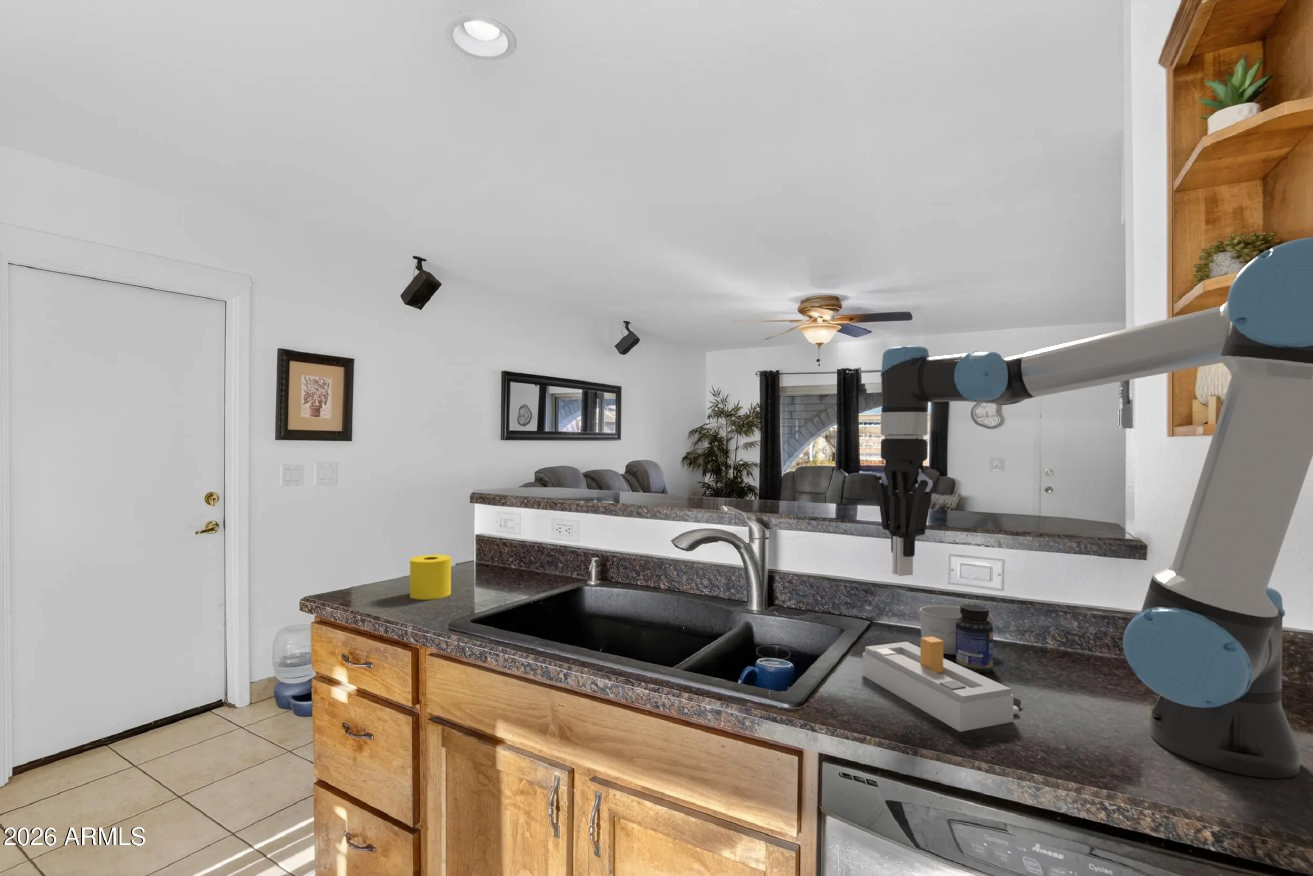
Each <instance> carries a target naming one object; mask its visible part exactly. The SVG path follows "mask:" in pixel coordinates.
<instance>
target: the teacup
mask: <svg viewBox="0 0 1313 876" xmlns="http://www.w3.org/2000/svg"><path fill="white" fill-rule="evenodd" d="M919 613H920V615H919V616H920V617H919V618H920V619H919V620H920V621H919V623H920V633H921V634H920V635H921V638H923V637H932V636H933V637H935V638H937V639H940V640H942V641H943V655H944V654H946V655H953V656H954V655H955V656H956V621H957V619H959V618H961V617H962V614H961V613H960V607H959V606H951V605H940V604H939V605H927V606H922V607H920V608H919ZM987 620H988V621H989V622H990V623H991V624H992V625H993V629H995V625H996V623H995V618H994V617H993V616H992V614H990V613H989V616H988V617H987Z"/></svg>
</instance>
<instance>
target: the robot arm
mask: <svg viewBox="0 0 1313 876" xmlns="http://www.w3.org/2000/svg"><path fill="white" fill-rule="evenodd" d="M1217 364H1223V365H1224V366H1225V368H1226V369H1227V370H1228V371H1229V373H1230V376H1231V377H1230V380H1229V383H1228V386H1227V390H1226V392H1225V396H1224V399H1223V402H1222V406H1221V408H1220V412H1219V415H1218V419H1217V422H1216V425H1215V427H1214V431H1213V435H1212V437H1211V441H1210V443H1209V447H1208V449H1207V453H1206V457H1205V459H1204V463H1203V466H1202V469H1201V472H1200V476H1199V479H1198V481H1197V484H1196V489H1195V491H1194V494H1193V497H1192V501H1191V504H1190V508H1189V511H1188V513H1187V518H1186V520H1185V523H1184V527H1183V530H1182V533H1181V535H1180V540H1179V542H1178V546H1177V548H1176V549H1177V550H1176V553H1175V555H1174V558H1173V562H1172V564H1171V565H1170V566H1168V567H1165V568H1163V569H1160V570H1157V571H1155V572H1153V574H1152V577H1151V579H1150V581H1149V582H1150V583H1149V586H1148V589H1147V593H1146V594H1145V599H1144V602H1143V604H1142V608H1141V610H1140V611H1139V612H1138V613H1136V614H1135V615H1134V617H1133V618H1131V619H1130V622H1129V623H1128V624H1127V625H1126V628H1125V631H1124V632H1123V633H1124V634H1123V638H1122V645H1123V652H1124V656H1125V659H1126V661H1127V663H1128V665H1129V667H1130V668H1131V669H1132V671H1133V672H1134V673H1135V675H1136V677H1137V678H1138V679H1139V680H1140V681H1141V682H1142V683H1143V684H1144V685H1145V686H1146V687H1148V688H1149V689H1150V690H1152V691H1153V692H1154V693H1155V694H1157V695H1159V696H1158V699H1157V700H1156V703H1155V704H1154V707H1153V709H1152V711H1151V713H1150V715H1149V717H1150V718H1149V734H1150V736H1151V738H1152V739H1154V741H1156V743H1158V744H1159V745H1160V746H1162V747H1164V749H1165V748H1166V749H1167V750H1169V751H1171V752H1172V753H1174V754H1176V755H1178V756H1181V757H1183V758H1185V759H1188V760H1191V761H1192V762H1195V763H1198V764H1201V765H1202V766H1203V765H1204V766H1206V767H1210V768H1212V769H1213V768H1214V769H1216V770H1221V771H1224V772H1227V773H1228V772H1229V773H1233V774H1238V775H1243V776H1249V777H1255V778H1262V779H1286V778H1287V779H1288V778H1291V777H1294V776H1296V775H1298V774H1299V773H1300V771H1301V752H1300V749H1299V746H1298V744H1297V742H1296V738H1295V736H1294V734H1293V732H1292V729H1291V726H1290V723H1289V721H1288V719H1287V716H1286V713H1285V711H1284V708H1283V705H1282V688H1283V680H1282V679H1283V618H1284V617H1285V615H1286V611H1285V610H1284V608H1283V597H1282V595H1281V593H1280V592H1279V591H1277V590H1276V589H1274V588H1272V587H1269V585H1270V584H1269V583H1270V580H1271V578H1272V575H1273V571H1274V568H1275V566H1276V564H1277V559H1278V558H1279V555H1280V551H1281V548H1282V546H1283V544H1284V540H1285V537H1286V534H1287V531H1288V529H1289V525H1290V522H1291V519H1292V518H1293V514H1294V511H1295V509H1296V505H1297V504H1298V503H1297V502H1298V501H1299V496H1300V494H1301V491H1302V488H1303V485H1304V482H1305V480H1306V477H1307V473H1308V470H1309V468H1310V465H1311V462H1312V459H1313V236H1311V237H1306V238H1305V237H1304V238H1299V239H1293V240H1290V241H1288V242H1282V243H1281V244H1279V245H1278V244H1277V245H1276V246H1273V247H1271V248H1270V249H1267V250H1266V251H1265V250H1264V252H1262V253H1260V254H1259V255H1257V256H1255V257H1254V258H1253V259H1252V260H1251V261H1249V262H1248V263H1247V264H1246V265H1245V266H1243V268H1241V269H1240V271H1239V272H1238V274H1237V275H1236V277H1234V280H1233V281H1232V283H1231V285H1230V287H1229V290H1228V295H1227V301H1226V302H1225V303H1223V304H1222V305H1219V306H1216V307H1211V308H1207V309H1203V310H1199V311H1193V312H1191V313H1186V314H1182V315H1178V316H1175V317H1170V318H1165V319H1162V320H1157V321H1153V322H1150V323H1146V324H1141V325H1137V326H1132V327H1127V328H1125V329H1120V330H1116V331H1113V332H1108V333H1104V334H1099V335H1096V336H1091V337H1087V338H1083V339H1078V340H1074V341H1071V342H1067V343H1062V344H1058V345H1054V346H1049V347H1045V348H1041V349H1037V350H1033V351H1028V352H1026V353H1023V354H1022V353H1021V354H1015V355H1013V356H1008V357H1005V358H1003V357H1002V355H1001V354H1000V353H998V352H996V351H971V352H968V353H959V354H952V355H951V354H950V355H941V356H930V354H929V350H928V348H927V347H925V346H919V345H907V346H895V347H890V348H888V349H886V350H885V351H884V352H883V353H882V362H881V372H880V379H881V381H880V382H881V413H880V435H881V436H884V437H883V438H881V440H880V458H881V459H882V460H883V461H884V463H885V464H884V467H883V472H882V473H881V474H880V475H877V474H876V475H874V476H873V482H874V484H875V486H876V490H877V495H878V496H877V498H878V505H879V512H880V513H879V514H880V520H881V527H882V529H883V531H888V533H889V534H890V541H891V543H890V546H891V547H890V551H891V554H892V574H893V575H896V576H899V577H903V576H913V575H914V572H913V571H914V557H915V555H916V553H915V551H916V550H915V549H916V548H915V547H916V538H917V537H920V536H924V535H925V534H926V531H927V524H928V518H929V512H930V507H931V502H932V496H933V492H934V490H936V487H937V481H936V480H935V479H930V478H929V477H928V476H927V475H925V474H926V470H925V467H924V462H925V461H926V460H927V459H928V453H929V452H928V445H929V443H928V440H927V439H924V437H925V436H927V435H928V423H929V422H928V421H929V420H928V412H929V403H936V402H937V403H938V402H969V403H980V404H981V403H984V404H995V405H998V406H1009V405H1015V404H1019V403H1022V402H1023V401H1025V400H1028V399H1029V400H1030V399H1032V398H1033V399H1034V398H1037V397H1043V396H1047V395H1053V394H1060V393H1065V392H1070V391H1075V390H1080V389H1081V390H1082V389H1087V388H1091V387H1092V388H1093V387H1099V386H1103V385H1107V384H1108V385H1109V384H1113V383H1119V382H1124V381H1130V380H1135V379H1140V378H1147V377H1151V376H1157V375H1164V374H1168V373H1169V374H1170V373H1174V372H1178V371H1179V372H1181V371H1185V370H1190V369H1195V368H1202V367H1206V366H1212V365H1217Z"/></svg>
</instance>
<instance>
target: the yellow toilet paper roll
mask: <svg viewBox="0 0 1313 876" xmlns="http://www.w3.org/2000/svg"><path fill="white" fill-rule="evenodd" d="M409 561H410V562H409V565H410V566H409V576H410V577H409V597H410V598H411V599H414V600H423V601H424V600H436V599H442V598H446V597H448V596H450V595H451V594H452V587H451V586H452V556H450V555H448V554H425V555H418V556H413V557H411V558H410V559H409Z"/></svg>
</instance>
